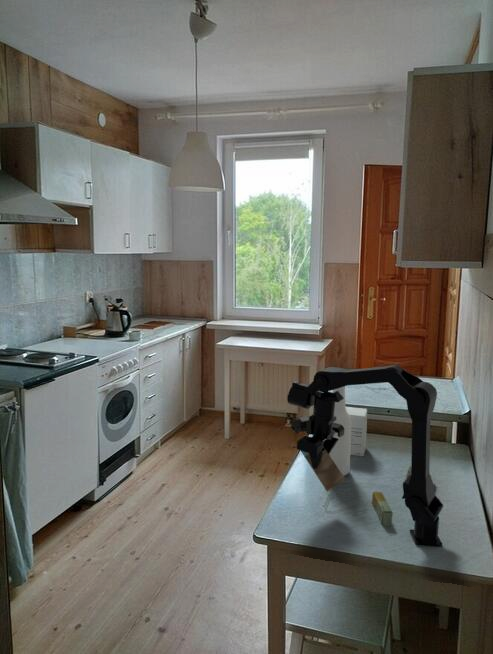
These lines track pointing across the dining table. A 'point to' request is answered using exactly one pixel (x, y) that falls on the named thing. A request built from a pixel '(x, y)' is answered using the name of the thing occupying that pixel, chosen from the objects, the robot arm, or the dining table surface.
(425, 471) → the robot arm
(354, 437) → the supplement box
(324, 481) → the wooden block
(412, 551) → the dining table surface
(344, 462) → the alcohol
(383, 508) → the medication box
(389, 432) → the dining table surface
